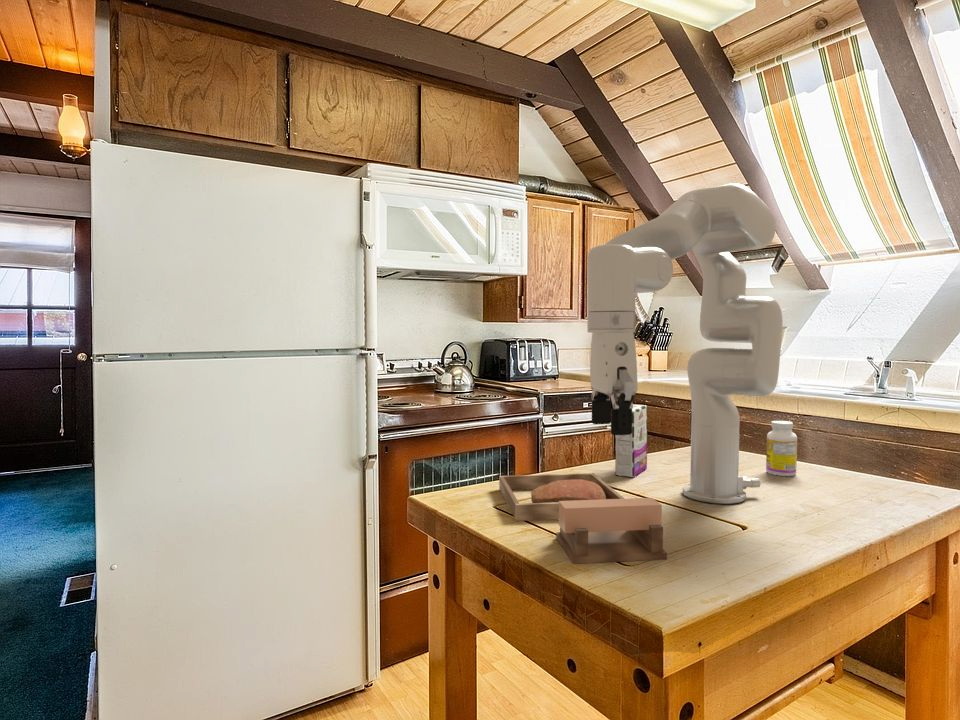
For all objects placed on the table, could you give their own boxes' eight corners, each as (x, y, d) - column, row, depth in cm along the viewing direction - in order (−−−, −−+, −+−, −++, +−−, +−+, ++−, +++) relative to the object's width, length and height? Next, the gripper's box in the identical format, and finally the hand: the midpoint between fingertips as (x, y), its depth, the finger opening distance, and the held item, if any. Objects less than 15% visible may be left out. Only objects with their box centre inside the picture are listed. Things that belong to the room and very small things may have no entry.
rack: (640, 534, 102) (640, 506, 102) (667, 559, 92) (667, 527, 91) (556, 538, 101) (556, 509, 101) (573, 563, 90) (573, 531, 90)
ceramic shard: (532, 470, 128) (601, 481, 127) (528, 499, 128) (597, 511, 127) (534, 478, 114) (611, 491, 112) (529, 511, 113) (607, 524, 112)
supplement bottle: (768, 469, 149) (769, 419, 148) (798, 472, 145) (799, 421, 144) (763, 474, 144) (764, 422, 143) (794, 478, 140) (795, 425, 139)
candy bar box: (628, 466, 152) (628, 403, 151) (647, 468, 150) (648, 405, 149) (613, 475, 143) (614, 408, 142) (633, 478, 140) (634, 410, 139)
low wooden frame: (593, 486, 134) (593, 473, 134) (627, 516, 112) (627, 500, 112) (499, 489, 131) (499, 475, 131) (515, 520, 110) (515, 505, 110)
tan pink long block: (651, 521, 99) (651, 497, 99) (661, 529, 95) (661, 504, 95) (558, 524, 97) (558, 501, 97) (564, 533, 93) (564, 508, 93)
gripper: (655, 323, 86) (654, 438, 87) (615, 323, 103) (615, 419, 104) (606, 323, 85) (605, 440, 86) (573, 323, 102) (573, 420, 103)
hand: (610, 428), depth 95 cm, fingers open, 9 cm apart
